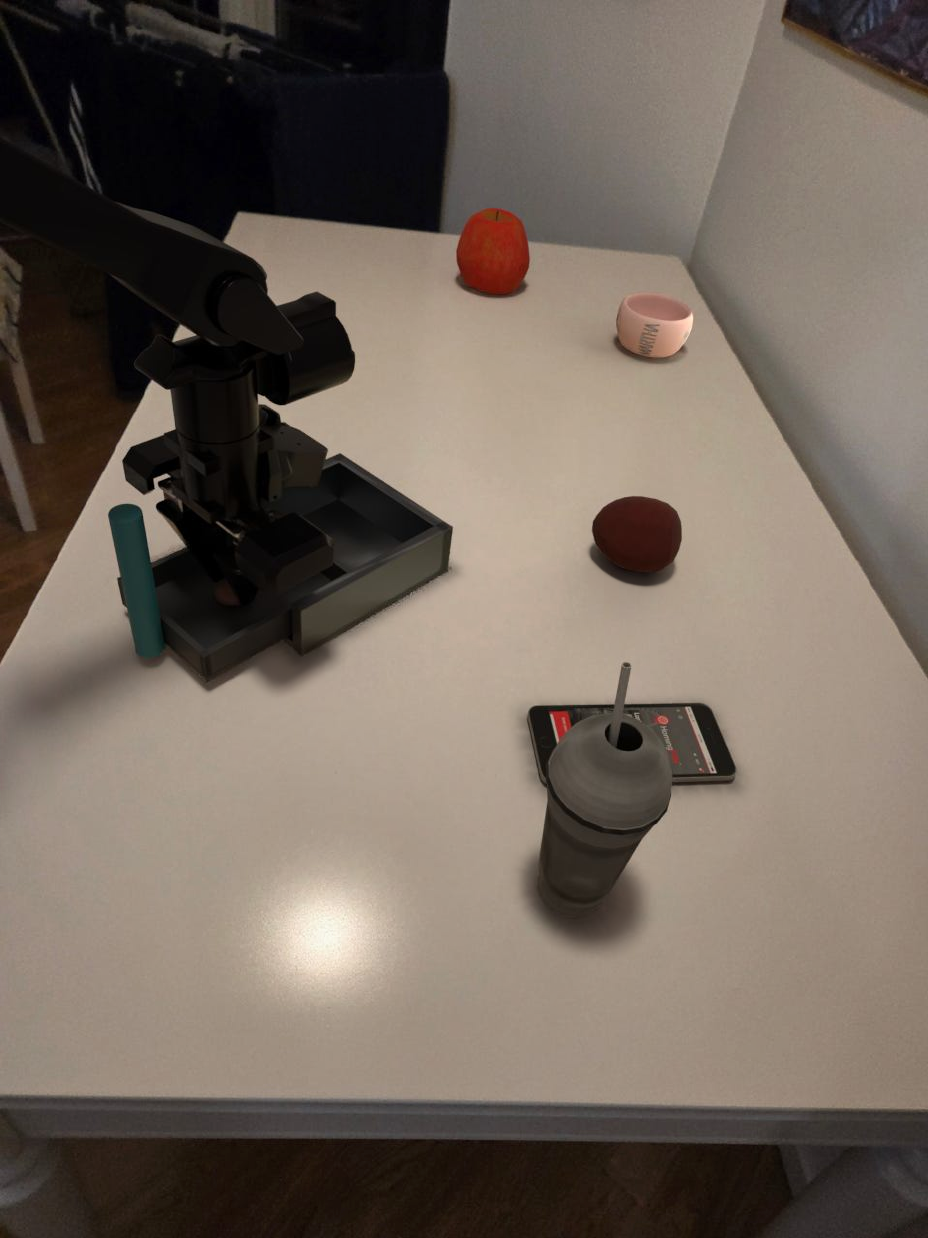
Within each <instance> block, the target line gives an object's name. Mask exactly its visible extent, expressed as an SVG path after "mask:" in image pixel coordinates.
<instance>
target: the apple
mask: <svg viewBox="0 0 928 1238" xmlns="http://www.w3.org/2000/svg"><path fill="white" fill-rule="evenodd" d="M526 232H527V231H526V229H525V226H524V223H523V221H522V220H521V219H520V218H519V217H518V216H517V215H516V214H514V213H512V212H511V211H508V210H505V209H502V208H497V207H489V208H485V209H481V210H480V211H477V212H476V213H474V214H472V215H470V217H469V219H468V220H467V221H466V223H465V225H464V227H463V229H462V232H461V234H460V236H459V239H458V242H457V247H456V251H455V253H456V256H455V257H456V258H455V259H456V264H457V267H458V271H459V274H460V276H461V277H462V279H463V281H464V282H465V284H467V285H468V287H471V288H473V289H476V290H478V291H481V292H484V293H488V294H491V295H506V294H510V293H512V292H515V291H516V290H517V289H518V288H519V287H520V286H521V284H522V283H523V281H524V279H525V278H526V276H527V274H528V271H529V268H530V261H531V256H530V247H529V241H528V237H527V233H526Z"/></svg>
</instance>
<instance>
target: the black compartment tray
mask: <svg viewBox="0 0 928 1238" xmlns="http://www.w3.org/2000/svg"><path fill="white" fill-rule="evenodd" d="M268 510H271V509H268ZM107 518H108V522H109V528H110V532H111V537H112V542H113V548H114V552H115V556H116V563H117V566H118V567H117V568H118V573H119V576H118V577H117V578H116V580H117V585H118V590H119V595H120V599H121V605H123V606H124V608H126V611H127V615H128V616H127V617H128V622H129V625H130V632H131V636H132V640H133V645H134V650H135V653H136V654H137V656H138V657H140V658H143V659H154V658H157V657H159V656H161V655H162V654H163V653H164V651H165V649H166V647H168V648H169V649H170V650H171V651H172V652H173V653H174V654H176V656H178V657H179V658H180V660H182V661H183V662H184V663H185V664H186V665H187V666H188V667H189V668H190V669H192V671H194V673H196V674H197V675H198V676H199V677H200V678H201V679H202V680H203V681H204V682H206V683H209V682H211V681H212V680H214V679H216V678H218V677H220V676H221V675H223V674H225V673H227V672H229V671H230V670H232V669H234V668H236V667H237V666H239V665H241V664H243V663H244V662H246V661H248V660H250V659H251V658H253V657H255V656H257V655H259V654H260V653H262V652H264V651H266V650H267V649H269V648H271V647H273V646H274V645H276V644H278V643H280V642H281V641H283V639H285V638H287V637H288V636H290V635H292V634H293V633H292V603H293V602H295V601H297V600H299V599H301V598H302V597H304V596H306V595H308V594H310V593H312V592H313V591H315V590H317V589H319V588H321V587H323V586H325V585H326V584H328V583H330V582H332V581H334V580H336V579H337V578H339V577H341V576H343V575H345V574H347V573H349V572H350V571H352V569H350V568H349V567H348V566H346V565H345V564H343V563H342V562H341V561H339V560H338V559H337V558H335V557H334V556H333V565H332V566H330V567H328V568H326V569H325V570H323V571H321V572H319V573H317V574H315V575H313V576H311V577H309V578H308V579H306V580H304V581H302V582H300V583H298V584H296V585H294V586H292V587H291V588H289V589H287V590H285V591H283V592H281V593H279V594H277V595H275V594H265V593H264V592H263V591H261V590H260V589H258V592H257V594H256V597H255V599H254V601H253V602H251V603H249V604H247V605H245V606H242V605H240V606H236V607H230V606H225V605H223V604H221V603H219V602H218V601H217V599H216V598H215V589H216V587H217V586H218V584H219V583H221V582H222V581H225V580H226V578H224V579H222V580H220V581H218V582H214V581H212V580H211V578H210V577H209V576H208V574H207V573H206V572H205V570H204V569H203V568H202V566H201V565H200V564H199V562H198V561H197V560H196V558H195V557H194V556H193V554H192V553H191V552H190V550H189V549H188V548H187V547H186V546H185V547H183V548H181V549H178V550H177V551H174V552H172V553H169V554H168V555H164V556H163V557H160V558H159V559H156V560H153V561H152V560H151V555H150V554H151V553H150V549H149V548H150V547H149V542H148V537H147V531H146V526H145V519H144V513H143V510H142V508H141V507H140V506H139V505H136V504H133V503H120V504H117V505H114V506H113V507H111V508H110V509H109V510H108V514H107ZM234 539H238V538H235V537H233V536H232V535H231V534H230V533H228V532H227V547H228V546H230V545H232V544H233V540H234Z"/></svg>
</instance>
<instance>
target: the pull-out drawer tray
mask: <svg viewBox="0 0 928 1238" xmlns="http://www.w3.org/2000/svg"><path fill="white" fill-rule="evenodd" d="M282 496H283V497H282V498H280V499H277V500H275V501H273V502H271V503H269V502H268V501H266V500H265V501H263V502H261V507H262V508H263V509H265V510H268V509H271V510H277V511H279V512H281V513H282V514H283V515H285V516H286V515H288V514H290V513H293V512H295V513H297V514H299V515H301V516H303V517H304V518H306V519H307V520H308V521H310V522H311V523H313V524H314V525H315V526H317V527H318V528H319V529H321V530H322V531H324V532H325V533H326V534H328V535H329V536H330V537H332V538H333V539H334V557H335V558H337V559H338V560H339V561H341V562H342V563H343V564H345V565H346V566H348V567H349V568H350V569H352V571H350V572H349V573H347V574H345V575H343V576H341V577H339V578H337V579H336V580H334V581H332V582H330V583H328V584H326V585H325V586H323V587H321V588H319V589H317V590H315V591H313V592H312V593H310V594H308V595H306V596H304V597H302V598H301V599H299V600H297V601H295V602H293V603H292V633H293V634H292V635H290V636H288V637H287V638H285V639H283V640H282V641H283V642H284V643H285V644H287V645H288V646H289V648H291V649H292V650H294V651H295V653H297V654H299V655H300V656H301V657H304V656H306V655H307V654H309V653H311V652H312V651H314V650H316V649H317V648H319V647H321V646H323V645H324V644H327V643H328V642H329V641H331V640H333V639H334V638H336V637H338V636H340V635H341V634H343V633H344V632H346V631H349V630H350V629H351V628H353V627H355V626H357V625H358V624H360V623H361V622H364V621H365V620H367V619H369V618H370V617H371V616H374V615H375V614H376V613H379V612H380V611H382V610H384V609H385V608H387V607H389V606H390V605H392V604H394V603H395V602H397V601H399V600H401V599H402V598H404V597H405V596H407V595H409V594H410V593H413V592H414V591H415V590H418V589H419V588H421V587H422V586H424V585H426V584H427V583H430V582H431V581H432V580H435V579H436V578H438V577H439V576H441V575H443V574H444V573H446V572H448V570H449V564H450V556H451V555H450V554H451V548H452V539H453V531H454V527H453V526H452V525H451V524H449V523H448V522H446V521H444V520H443V519H441V518H440V517H438V516H437V515H435V514H434V513H433V512H431V511H429V510H428V509H426V508H425V507H423V506H422V505H420V504H419V503H417V502H416V501H414V500H413V499H411V498H409V497H408V496H406V495H405V494H403V493H402V492H400V491H399V490H398V489H396V488H395V487H392V486H391V485H390V484H388V483H387V482H385V481H383V480H382V479H380V478H379V477H378V476H376V475H374V474H373V473H372V472H370V471H369V470H367V469H366V468H364V467H362V466H361V465H359V464H358V463H356V462H355V461H353V460H352V459H350V458H349V457H347V456H346V455H344V454H343V453H341V452H339V453H337V454H335V455H332V456H330V457H328V458H326V459H325V463H324V466H323V470H322V473H321V477H320V480H319V484H318V486H317V487H316V488H309V487H307V486H302V487H282Z"/></svg>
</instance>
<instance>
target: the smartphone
mask: <svg viewBox="0 0 928 1238" xmlns="http://www.w3.org/2000/svg"><path fill="white" fill-rule="evenodd" d="M614 705H615V703H609V704H608V703H607V704H606V703H605V704H604V703H603V704H601V703H600V704H549V705H548V704H547V705H546V704H544V705H541V704H540V705H533V706H531V707H530V708H529V709H528V711H527V715H526V716H527V722H528V725H529V730H530V735H531V739H532V745H533V749H534V752H535V758H536V762H537V767H538V773H539V776H540V779H541V781H542V782H543V783H544V784H546V785H547V783H546V764H547V762H548V759H549V757H550V755H551V752H552V751H553V749H554V748H555V747H556V746H557V743H558V742H559V740H560V739H561V737H562V736H563V735H564V734H565V733H566V732H567V731H568V730H569V729H570V728H571V727H573V726H574V725H575V724H576V723H578V722H580V721H581V720H584V719H586V718H588V717H590V716H593V715H598V714H605V713H613V710H614ZM713 711H714V710H713V709H712V708H711V706H709V705H708V704H706V703H703V702H671V703H669V702H665V703H664V702H663V703H662V702H661V703H625V704H624V709H623V714H624V715H627V716H630V717H633V718H635V719H638V720H639V721H641V722H642V723H644V724H645V725H647V726H649V727H650V728H651V730H652V731H653V732H654V733H655V734H656V735H657V736H658V737H659V738H660V739H661V741H662V743H663V745H664V747H665V749H666V751H667V753H668V755H669V757H670V763H671V770H672V777H673V779H672V783H686V782H718V781H719V782H721V781H724V782H725V781H731V780H733V779H734V778H735V776H736V774H737V772H738V770H737V766H736V763H735V761H734V759H733V757H732V754H731V752H730V750H729V747H728V744H727V742H726V740H725V737H724V735H723V733H722V731H721V728H720V725H719V723H718V721H717V719H716V716H715V714H714V712H713Z"/></svg>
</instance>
